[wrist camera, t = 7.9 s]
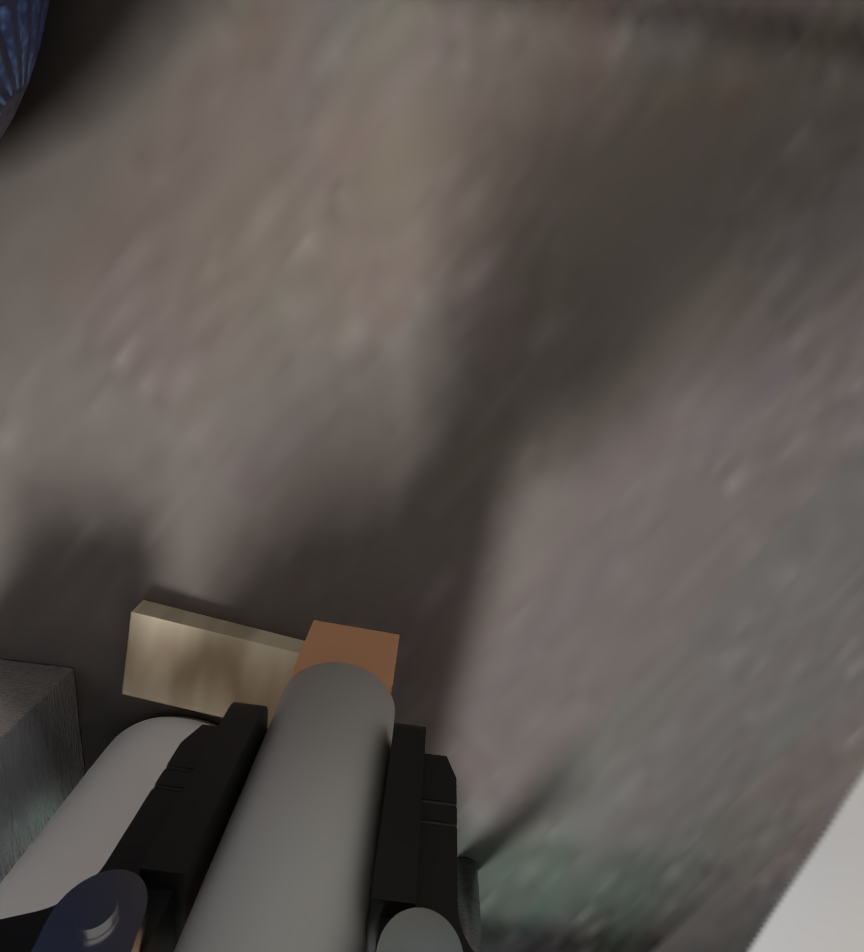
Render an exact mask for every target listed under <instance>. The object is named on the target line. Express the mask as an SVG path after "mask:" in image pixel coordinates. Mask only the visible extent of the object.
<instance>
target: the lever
mask: <svg viewBox="0 0 864 952" xmlns="http://www.w3.org/2000/svg"><path fill="white" fill-rule="evenodd" d="M399 637H400V635H399V634H393V633H387V632H381V631H375V630H370V629H364V628H358V627H352V626H346V625H340V624H335V623H329V622H323V621H317V620H314V621H313V623H312V625H311V628H310V630H309V633H308V635H307V637H306V640H305V642H304V644H303V647H302V649H301V652H300V654H299V656H298V659H297V661H296V663H295V666H294V668H293V675H292V679H291V680H290V681H289V683H288V684H287V686H286V687H285V689H284V691H283V694H282V696H281V698H280V701H279V703H278V706H277V708H276V710H275V713H274V715H273V717H272V720H271V722H270V725H269V727H268V729H267V732H266V734H265V736H264V739H263V741H262V743H261V746H260V748H259V751H258V753H257V755H256V758H255V760H254V762H253V765H252V767H251V770H250V772H249V774H248V777H247V779H246V781H245V784H244V786H243V789H242V791H241V793H240V796H239V798H238V800H237V803H236V805H235V807H234V810H233V812H232V815H231V817H230V819H229V822H228V824H227V826H226V829H225V831H224V834H223V836H222V838H221V841H220V843H219V845H218V848H217V850H216V852H215V855H214V857H213V860H212V862H211V864H210V867H209V869H208V871H207V874H206V876H205V879H204V881H203V883H202V886H201V888H200V890H199V893H198V895H197V897H196V900H195V902H194V905H193V907H192V909H191V912H190V914H189V916H188V919H187V921H186V924H185V926H184V928H183V931H182V933H181V935H180V938H179V940H178V943H177V945H176V947H175V950H174V952H366V948H367V939H366V928H367V920H368V913H369V905H370V898H371V890H372V883H373V876H374V868H375V861H376V854H377V846H378V839H379V832H380V824H381V817H382V810H383V802H384V795H385V788H386V780H387V773H388V766H389V758H390V751H391V743H392V735H393V727H394V719H395V706H394V701H393V698H392V696H391V692H392V687H393V680H394V673H395V666H396V658H397V651H398V644H399Z"/></svg>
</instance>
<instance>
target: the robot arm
mask: <svg viewBox="0 0 864 952" xmlns="http://www.w3.org/2000/svg"><path fill="white" fill-rule="evenodd" d="M267 727H268V708H267V706H262V705H255V704H247V703H239V702H233V703H232V704H231V705H230V706H229V708H228V710H227V712H226V713H225V715H224V717H223V719H222V721H221V722H220V724H219V726H211V725H203V724H202V725H201V726H200V727H199V728H197V729H196V730H195V731H194V732H193V733H191V734H190V735H189V736H188V737H187V738H185V739H184V740H183V741H182V742H181V743H180V745H179V746H178V748H177V749H176V751H175V753H174V754H173V756H172V757H171V759H170V761H169V762H168V764H167V767H166V769H165V770H163V772H162V773H161V775H160V777H159V778H158V780H157V781H156V783H155V786H154V789H151V791H150V793H149V794H148V796H147V797H146V799H145V801H144V802H143V804H142V806H141V807H140V809H139V810H138V812H137V814H136V815H135V817H134V818H133V820H132V822H131V823H130V825H129V826H128V828H127V830H126V831H125V833H124V834H123V836H122V838H121V839H120V841H119V842H118V844H117V846H116V847H115V849H114V850H113V852H112V854H111V855H110V857H109V858H108V860H107V862H106V863H105V865H104V866H103V867H102V869H101V870H100V871H99V872H98V874H96V875H93V876H91V877H89V878H88V879H86V880H84V881H82V882H81V883H79V884H78V885H77V886H75V887H74V888H73V889H71V890H70V891H69V892H68V893H67V894H66V895H65V896H64V897H63V898H62V899H61V900H60V901H59V902H58V904H56V905H54V906H51V907H49V908H46V909H43V910H39V911H35V912H31V913H26V914H22V915H17V916H13V917H8V918H4V919H0V952H174V950H175V947H176V945H177V943H178V940H179V938H180V935H181V933H182V931H183V928H184V926H185V924H186V921H187V919H188V916H189V914H190V912H191V909H192V907H193V905H194V902H195V900H196V897H197V895H198V893H199V890H200V888H201V886H202V883H203V881H204V879H205V876H206V874H207V871H208V869H209V867H210V864H211V862H212V860H213V857H214V855H215V852H216V850H217V848H218V845H219V843H220V841H221V838H222V836H223V834H224V831H225V829H226V826H227V824H228V822H229V819H230V817H231V815H232V812H233V810H234V807H235V805H236V803H237V800H238V798H239V796H240V793H241V791H242V789H243V786H244V784H245V781H246V779H247V777H248V774H249V772H250V770H251V767H252V765H253V762H254V760H255V758H256V755H257V753H258V751H259V748H260V746H261V743H262V741H263V739H264V736H265V734H266V732H267ZM425 735H426V727H421V726H414V725H406V724H398V723H394V729H393V736H392V744H391V751H390V758H389V766H388V773H387V780H386V788H385V795H384V802H383V810H382V817H381V824H380V832H379V839H378V846H377V854H376V861H375V868H374V876H373V883H372V890H371V898H370V905H369V913H368V920H367V928H366V939H367V948H366V952H474V951H473V950H472V948H471V947H470V945H469V944H468V942H467V940H466V938H465V936H464V934H463V931H462V928H461V925H460V920H459V915H458V876H457V828H456V826H457V808H456V803H457V797H456V777H455V774H454V772H453V770H452V768H451V765H450V763H449V761H448V759H447V756H440V755H432V754H424V752H425Z"/></svg>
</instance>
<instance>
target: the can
mask: <svg viewBox="0 0 864 952" xmlns="http://www.w3.org/2000/svg"><path fill="white" fill-rule="evenodd" d="M202 724H203V725H211V726H219V725H216V724H214V723H212V722H209V721H206V720H203V719H199V718H194V717H188V716H175V715H169V716H160V717H156V718H151V719H147V720H144V721H141V722H139V723H136V724H134V725H132V726H130V727H129V728H127V729H126V730H124V731H123V732H121V733H120V734H119V735H118V736H116V737H115V738H114V739H113V741H112V742H111V743H110V744H109V745H108V746H107V748H106V749H105V750H104V751H103V752H102V754H101V755H100V756H99V757H98V759H97V760H96V761H95V763H94V764H93V765H92V766H91V768H90V769H89V770H88V771H87V773H86V774H85V775H84V776H83V778H82V779H81V780H80V782H79V783H78V784H77V785H76V787H75V788H74V789H73V791H72V792H71V793H70V794H69V796H68V797H67V798H66V800H65V801H64V802H63V803H62V805H61V806H60V807H59V809H58V810H57V811H56V812H55V814H54V815H53V816H52V817H51V819H50V820H49V821H48V823H47V824H46V825H45V826H44V828H43V829H42V830H41V832H40V833H39V834H38V836H37V837H36V838H35V839H34V841H33V842H32V843H31V845H30V846H29V847H28V848H27V850H26V851H25V852H24V854H23V855H22V856H21V857H20V859H19V860H18V861H17V863H16V864H15V865H14V866H13V868H12V869H11V870H10V872H9V873H8V874H7V875H6V877H5V878H4V879H3V881H2V882H1V883H0V919H4V918H8V917H13V916H17V915H22V914H26V913H31V912H35V911H39V910H43V909H46V908H49V907H51V906H54V905H56V904H58V902H59V901H60V900H61V899H62V898H63V897H64V896H65V895H66V894H67V893H68V892H69V891H70V890H71V889H73V888H74V887H75V886H77V885H78V884H79V883H81V882H82V881H84V880H86V879H88V878H89V877H91V876H93V875H96V874H98V872H99V871H100V870H101V869H102V867H103V866H104V865H105V863H106V862H107V860H108V858H109V857H110V855H111V854H112V852H113V850H114V849H115V847H116V846H117V844H118V842H119V841H120V839H121V838H122V836H123V834H124V833H125V831H126V830H127V828H128V826H129V825H130V823H131V822H132V820H133V818H134V817H135V815H136V814H137V812H138V810H139V809H140V807H141V806H142V804H143V802H144V801H145V799H146V797H147V796H148V794H149V793H150V791H151V789H154V786H155V783H156V781H157V780H158V778H159V777H160V775H161V773H162V772H163V770H165V769H166V767H167V764H168V762H169V761H170V759H171V757H172V756H173V754H174V753H175V751H176V749H177V748H178V746H179V745H180V743H181V742H182V741H183V740H184V739H185V738H187V737H188V736H189V735H190V734H191V733H193V732H194V731H195V730H196V729H197V728H199V727H200V726H201V725H202Z"/></svg>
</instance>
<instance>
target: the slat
mask: <svg viewBox="0 0 864 952" xmlns="http://www.w3.org/2000/svg"><path fill="white" fill-rule="evenodd" d="M304 642H305V641H303V640H299V639H295V638H292V637H288V636H284V635H280V634H276V633H272V632H268V631H264V630H260V629H256V628H252V627H248V626H244V625H240V624H237V623H233V622H229V621H225V620H221V619H217V618H213V617H209V616H205V615H201V614H197V613H193V612H189V611H185V610H182V609H178V608H174V607H170V606H166V605H162V604H158V603H154V602H150V601H146V600H143V601H142V602H141V603H140V604H139V605H138V606H137V607H136V608H135V609H134V610H133V611H132V612H131V619H130V628H129V637H128V646H127V655H126V663H125V672H124V681H123V690H122V694H124V695H128V696H133V697H137V698H141V699H146V700H150V701H154V702H158V703H163V704H167V705H171V706H175V707H180V708H184V709H188V710H192V711H197V712H201V713H205V714H210V715H214V716H218V717H222V718H223V717H224V715H225V713H226V712H227V710H228V708H229V706H230V705H231V704H232V703H233V702H239V703H247V704H255V705H262V706H267V708H268V727H269V725H270V722H271V720H272V717H273V715H274V713H275V710H276V708H277V706H278V703H279V701H280V698H281V696H282V694H283V691H284V689H285V687H286V686H287V684H288V683H289V681H290V680H291V679H292V675H293V668H294V666H295V663H296V661H297V659H298V656H299V654H300V652H301V649H302V647H303V644H304ZM268 727H267V728H268Z"/></svg>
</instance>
